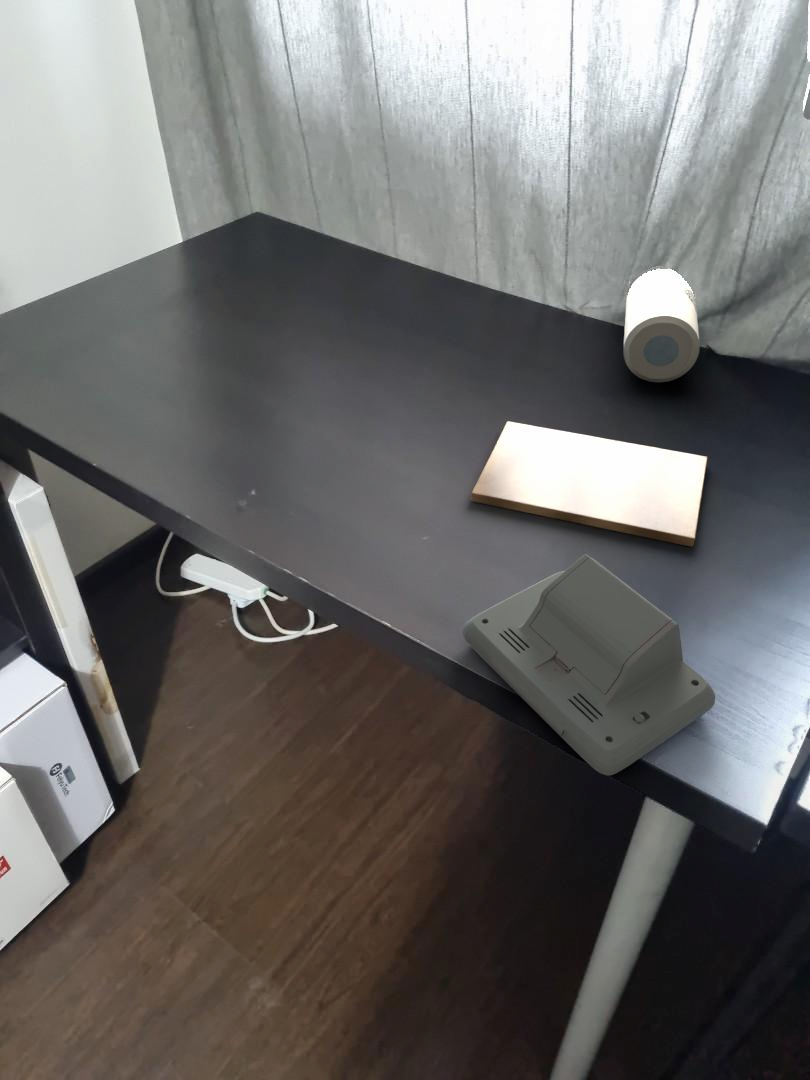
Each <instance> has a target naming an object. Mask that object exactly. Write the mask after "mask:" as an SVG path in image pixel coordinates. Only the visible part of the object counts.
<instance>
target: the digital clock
mask: <svg viewBox="0 0 810 1080" xmlns="http://www.w3.org/2000/svg"><path fill="white" fill-rule="evenodd" d="M461 635H462V637H463V639H464V640H465V642H467V644H468V645H469V646H470V647H471V648H472V649H473V651H475V652H476V653H477V655H479V656H480V658H481V659H483V661H484V662H486V664H487V665H488V666H489V667H490V668H491V669H492V670H493V671H495V673H496V674H497V675H498V676H499V677H500V678H501V679H502V680H503V681H505V683H506V684H507V685H508V686H509V687H510V688H511V689H512V690H513V691H514V692H515V693H516V694H517V695H518V696H519V697H521V699H522V700H523V701H524V702H525V703H526V704H527V705H528V706H529V707H530V708H531V709H532V710H533V711H534V712H536V714H537V715H538V716H539V717H541V718H542V719H543V721H544V722H545V723H546V724H548V726H549V727H550V728H551V729H553V730H554V732H555V733H556V734H557V735H559V736H560V738H561V739H563V741H565V743H566V744H568V745H569V747H570V748H572V750H573V751H574V752H575V753H576V754H577V755H579V757H581V758H582V759H583V760H584V761H585V762H586V763H587V764H588V765H589V766H591V768H592V769H593V770H595V771H596V772H597V773H600V774H602V775H603V776H604V775H605V776H613V775H615V774H617V773H619V772H621V771H622V770H624V769H626V768H627V767H629V766H631V765H632V764H633V763H635V762H637V761H638V760H639V759H640V758H642V757H644V756H646V754H648V753H650V752H651V751H652V750H654V749H655V748H657V747H658V746H659V745H661V744H662V743H664V742H665V741H667V740H668V739H670V738H671V737H673V736H674V735H676V734H677V733H679V732H680V731H682V730H683V729H685V728H686V727H687V726H689V725H690V724H692V723H693V722H694V721H697V719H699V718H700V717H702V716H703V715H705V714H706V713H707V712H709V711H711V709H712V708H713V707H714V705H715V703H716V693H715V691H714V689H713V687H712V686H711V684H710V683H709V682H708V681H707V680H706V679H705V678H704V677H703V676H702V675H701V674H699V673H698V672H697V670H695V669H693V667H691V666H690V665H689V664H687V663H686V662H685V661H684V655H683V648H682V638H681V629H680V625H679V624H678V623H677V622H676V621H675V620H673V618H671V617H670V616H669V615H667V614H666V613H665V612H663V611H662V610H660V608H658V607H657V606H656V605H654V604H652V603H651V602H650V601H649V600H648V599H646V598H645V597H644V596H642V595H641V594H640V593H638V592H637V591H636V590H635V589H633V588H632V587H631V586H630V585H628V584H627V583H626V582H624V581H623V579H620V578H619V577H618V576H617V575H615V574H614V573H613V572H611V571H610V570H609V569H607V567H605V566H604V565H602V564H601V563H600V562H598V561H597V560H596V559H594V558H593V557H591V556H590V555H589V554H587V553H585V554H583V555H582V556H581V557H580V558H578V559H577V560H576V561H575V562H574V563H572V564H571V565H570V566H569V567H567V569H565V570H561V571H558V572H555V573H553V574H552V575H550V576H548V577H546V578H544V579H542V580H540V581H538V582H536V583H535V584H533V585H530V586H529V587H527V588H525V589H523V590H520V591H518V592H517V593H515V594H513V595H511V596H509V597H508V598H506V599H504V600H501V601H500V602H497V603H496V604H494V605H492V606H491V607H488V608H487V609H485V610H482V611H481V612H479V613H477V614H476V615H474V616H472V617H471V618H469V619H468V620H467V621H466V622H464V625H463V626H462V629H461Z"/></svg>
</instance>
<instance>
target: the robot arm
mask: <svg viewBox="0 0 810 1080" xmlns="http://www.w3.org/2000/svg"><path fill="white" fill-rule="evenodd" d="M807 10H808V11H807V12H808V13H807V14H808V15H807V17H808V19H807V20H808V26H807V27H808V29H807V38H808V39H807V40H808V41H807V60H808V62H810V0H808V9H807ZM802 105H803V106H802V107H803V109H802V115H803V117H804V119H806V120H807V121H808V120H810V75H809V76H808V82H807V87H806V91H805V96H804V99H803V103H802Z"/></svg>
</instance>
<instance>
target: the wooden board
mask: <svg viewBox="0 0 810 1080" xmlns="http://www.w3.org/2000/svg"><path fill="white" fill-rule="evenodd" d="M707 464H708V456H704V455H700V454H694V453H688V452H683V451H677V450H673V449H672V450H671V449H665V448H661V447H655V446H649V445H643V444H639V443H638V444H637V443H632V442H628V441H627V442H626V441H621V440H616V439H610V438H604V437H599V436H593V435H587V434H583V433H582V434H581V433H576V432H570V431H565V430H559V429H553V428H548V427H543V426H537V425H531V424H526V423H520V422H515V421H509V420H508V421H506V423H505V425H504V427H503V430H502V431H501V433H500V435H499V437H498V439H497V441H496V443H495V445H494V447H493V450H492V451H491V453H490V456H489V457H488V459H487V462H486V463H485V465H484V467H483V469H482V471H481V474H480V475H479V478H478V479H477V481H476V484H475V485H474V487H473V490H472V492H471V497H470V501H471V502H475V503H478V504H484V505H489V506H493V507H499V508H503V509H507V510H513V511H517V512H521V513H528V514H532V515H537V516H542V517H546V518H551V519H556V520H561V521H565V522H571V523H575V524H579V525H585V526H590V527H595V528H599V529H604V530H609V531H614V532H619V533H624V534H628V535H633V536H637V537H642V538H647V539H651V540H652V539H653V540H658V541H662V542H667V543H671V544H676V545H682V546H685V547H691V548H692V547H694V544H695V541H696V536H697V529H698V523H699V517H700V516H699V515H700V509H701V504H702V497H703V491H704V483H705V477H706V470H707Z"/></svg>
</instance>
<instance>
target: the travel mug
mask: <svg viewBox="0 0 810 1080" xmlns="http://www.w3.org/2000/svg"><path fill="white" fill-rule="evenodd" d="M660 268H666V267H663V266H656V267H652V268H650V269H648V270H645V271H643V272H642V273H640V274H639V275H638V276H636V278H634V280H633V281H632V282H631V284H630V286H629V285H628V287H629V288H628V287H627V290H628V291H629V292H628V291H626V299H625V301H626V302H625V316H624V317H625V318H624V320H625V321H624V332H623V333H624V334H623V335H624V336H623V351H622V352H623V360H624V362H625V365H626V366H627V368H628V369H629V371H630V372H631V373H632V374H634V375H635V376H636V377H637V378H639V379H641V380H644V381H646V382H651V383H665V382H666V383H667V382H671V381H675V380H676V379H679V378H681V377H682V376H684V375H685V374H686V373H688V372H689V371H690V370H691V369H692V368H693V367H694V365H695V364H696V362H697V359H698V357H699V354H700V349H701V347H700V345H701V344H700V333H699V324H698V323H699V322H698V310H697V300H696V301H695V299H696V296H695V297H694V294H693V291H692V289H691V287H690V286H689V284H688V283H687V281H685V280H684V278H682V276H681V275H680V274H678V273H677V272H676V271H674V270H672V269H670V268H668V269H660ZM654 269H656V270H654ZM651 270H652V271H651ZM646 272H647V273H646ZM641 275H642V276H641ZM630 287H631V288H630ZM627 294H628V295H627Z"/></svg>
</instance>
